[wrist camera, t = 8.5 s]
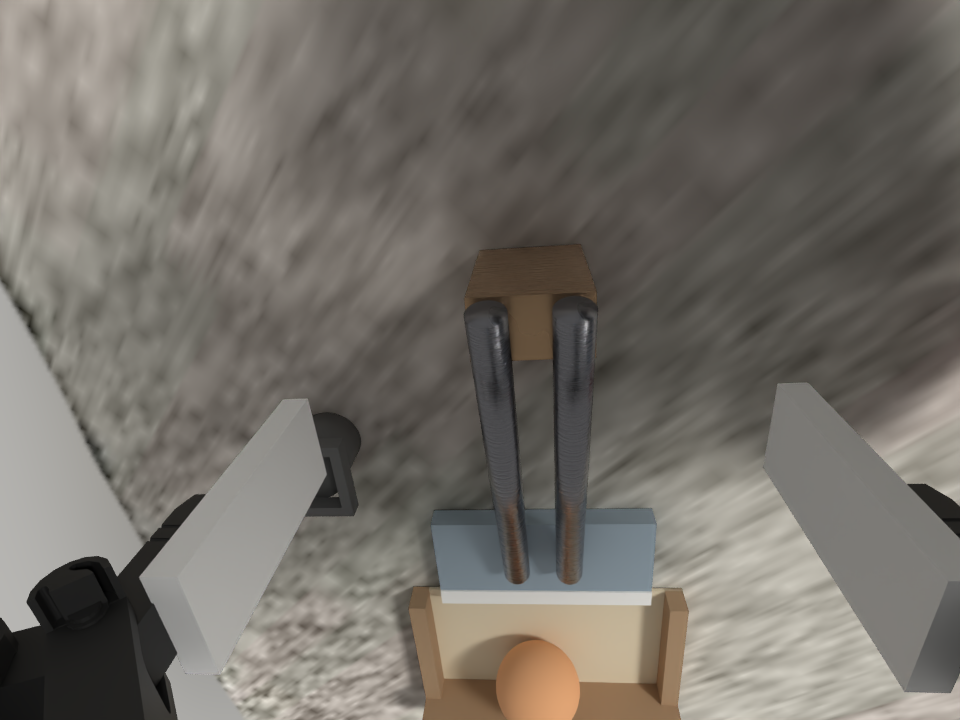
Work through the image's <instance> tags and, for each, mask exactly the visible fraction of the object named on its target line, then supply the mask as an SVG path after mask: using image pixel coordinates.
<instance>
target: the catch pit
mask: <svg viewBox="0 0 960 720" xmlns="http://www.w3.org/2000/svg"><path fill="white" fill-rule="evenodd" d="M409 614H410V619H411V624H412V629H413V634H414V639H415V644H416V649H417V654H418V660H419V665H420V670H421V675H422V680H423V685H424V690H425V695H426V702H425V708H424V714H423V720H507V719H506V717H505V716H504V714H503V712H502V711H501V708H500V706H499V703H498V699H497V694H496V678H497V673H498V670H499V667H500V664H501V662H502V660H503V659H504V657H505V656H506V654H507V653H508V652H509V651H510V650H511V649H512V648H514V647H515V646H517V645H518V644H520V643H522V642H526V641H530V640H542V641H546V642H549V643H552V644H554V645H555V646H557V647H559V648H560V649H561V650H562V651H563V652H564V653H565V654H566V655H567V656H568V657H569V659H570V660H571V661H572V663H573V665H574V667H575V669H576V672H577V675H578V678H579V684H580V699H579V704H578V708H577V711H576V713H575V715H574V717H573V718H572V720H681V718H680V714H679V709H678V698H679V690H680V682H681V673H682V665H683V656H684V648H685V639H686V631H687V622H688V614H689V611H688V607H687V604H686V601H685V598H684V595H683V591H682V588H652V599H651V605H554V604H452V603H442V597H441V588H440V587H413V592H412V596H411V600H410V604H409Z"/></svg>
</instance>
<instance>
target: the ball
mask: <svg viewBox="0 0 960 720" xmlns="http://www.w3.org/2000/svg"><path fill="white" fill-rule="evenodd" d="M496 694H497V699H498V703H499V706H500V708H501V711H502V712H503V714H504V716H505V717H506V719H507V720H572V718H573V717H574V715H575V713H576V711H577V708H578V704H579V699H580V684H579V678H578V675H577V672H576V669H575V667H574V665H573V663H572V661H571V660H570V659H569V657H568V656H567V655H566V654H565V653H564V652H563V651H562V650H561V649H560V648H559V647H557V646H555V645H554V644H552V643H549V642H546V641H542V640H530V641H526V642H522V643H520V644H518V645H517V646H515V647H514V648H512V649H511V650H510V651H509V652H508V653H507V654H506V656H505V657H504V659H503V660H502V662H501V664H500V667H499V670H498V673H497V678H496Z"/></svg>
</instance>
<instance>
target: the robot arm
mask: <svg viewBox="0 0 960 720" xmlns="http://www.w3.org/2000/svg"><path fill="white" fill-rule="evenodd" d="M763 468H764V469H765V471H766V473H767V474H768V476H769V477H770V479H771V481H772V482H773V484H774V485H775V487H776V489H777V490H778V492H779V493H780V495H781V496H782V498H783V500H784V501H785V503H786V504H787V506H788V508H789V509H790V511H791V512H792V514H793V515H794V517H795V519H796V520H797V522H798V523H799V525H800V527H801V528H802V530H803V531H804V533H805V535H806V536H807V538H808V539H809V541H810V542H811V544H812V546H813V547H814V549H815V550H816V552H817V554H818V555H819V557H820V558H821V560H822V562H823V563H824V565H825V566H826V568H827V569H828V571H829V573H830V574H831V576H832V577H833V579H834V581H835V582H836V584H837V585H838V587H839V589H840V590H841V592H842V593H843V595H844V596H845V598H846V600H847V601H848V603H849V604H850V606H851V608H852V609H853V611H854V612H855V614H856V615H857V617H858V619H859V620H860V622H861V623H862V625H863V627H864V628H865V630H866V631H867V633H868V635H869V636H870V638H871V639H872V641H873V642H874V644H875V646H876V647H877V649H878V650H879V652H880V654H881V655H882V657H883V658H884V660H885V662H886V663H887V665H888V666H889V668H890V669H891V671H892V673H893V674H894V676H895V677H896V679H897V681H898V682H899V684H900V685H901V687H902V688H903V690H904V692H927V693H951V691H952V689H953V687H954V685H955V683H956V680H957V678H958V676H959V674H960V506H959V505H957V504H956V503H955V502H954V501H953V500H952V499H950V498H949V497H947V496H945V495H944V494H942V493H940V492H938V491H937V490H935V489H933V488H932V487H930V486H928V485H926V484H906V483H905V482H904V481H903V480H902V479H901V478H900V477H899V476H898V475H897V474H896V473H895V472H894V470H893V469H892V468H891V467H890V466H889V465H888V464H887V463H886V462H885V461H884V460H883V459H882V458H881V457H880V456H879V455H878V454H877V453H876V452H875V451H874V450H873V449H872V448H871V447H870V446H869V445H868V444H867V443H866V442H865V441H864V440H863V439H862V438H861V437H860V436H859V434H858V433H857V432H856V431H855V430H854V429H853V428H852V427H851V426H850V425H849V424H848V423H847V422H846V421H845V420H844V419H843V418H842V417H841V416H840V415H839V414H838V413H837V412H836V411H835V410H834V409H833V408H832V407H831V406H830V405H829V404H828V403H827V402H826V401H825V400H824V399H823V397H822V396H821V395H820V394H819V393H818V392H817V391H816V390H815V389H814V388H813V387H812V386H811V385H810V384H809V383H808V382H805V383H778V384H777V390H776V396H775V401H774V407H773V413H772V419H771V424H770V430H769V436H768V442H767V448H766V453H765V459H764V465H763ZM326 475H327V473H326V469H325V465H324V461H323V457H322V453H321V449H320V445H319V441H318V437H317V433H316V429H315V425H314V421H313V417H312V413H311V409H310V405H309V401H308V399H283V400H282V401H281V402H280V404H279V405H278V406H277V407H276V409H275V410H274V411H273V412H272V414H271V415H270V416H269V417H268V419H267V420H266V421H265V422H264V423H263V425H262V426H261V427H260V428H259V430H258V431H257V432H256V433H255V435H254V436H253V437H252V438H251V440H250V441H249V442H248V443H247V444H246V446H245V447H244V448H243V449H242V451H241V452H240V453H239V454H238V456H237V457H236V458H235V459H234V461H233V462H232V463H231V464H230V465H229V467H228V468H227V469H226V470H225V472H224V473H223V474H222V475H221V477H220V478H219V479H218V480H217V482H216V483H215V484H214V485H213V487H212V488H211V489H210V490H209V491H208V493H207V494H202V495H194V496H192V497H191V498H190V499H188V500H187V501H186V502H184V503H183V504H181V505H180V506H179V507H177V508H176V509H175V510H174V511H173V512H172V513H171V514H170V516H169V517H168V518H167V519H166V520H165V521H164V523H163V524H162V527H161V528H158V530H157V531H156V532H155V533H154V534H153V535H152V537H151V538H150V541H147V542H146V544H145V545H144V546H143V547H142V548H141V550H140V551H139V552H138V553H137V554H136V555H135V557H134V558H133V559H132V560H131V561H130V562H129V564H128V565H127V566H126V567H125V568H124V570H123V571H122V572H121V573H120V574H119V576H116V574H115V572H114V570H113V568H112V566H111V564H110V563H109V561H108V559H106V558H103V557H99V556H94V557H84V558H81V559H78V560H75V561H72V562H69V563H67V564H65V565H63V566H61V567H59V568H57V569H55V570H54V571H52V572H51V573H50V574H48V575H47V576H46V577H44V578H43V579H42V580H40V581H39V583H38V584H37V585H36V586H35V587H34V588H33V589H32V591H31V592H30V594H29V597H28V599H27V604H28V606H29V607H30V609H31V610H32V612H33V613H34V615H35V617H36V618H37V620H38V622H39V623H40V626H36V627H32V628H28V629H25V630H21V631H16V632H13V633H12V632H11V631H10V630H9V628H8V626H7V625H6V624H5V622H4V621H3V620H2V618H0V720H178V719H177V714H176V709H175V704H174V699H173V694H172V689H171V684H170V681H169V679H168V677H167V675H166V673H165V672H166V671H167V669H168V667H169V665H170V664H171V663H172V661H173V659H174V658H175V656H176V655H177V657H178V659H179V662H180V663H181V666H182V668H183V670H184V672H185V674H213V675H220V674H221V672H222V670H223V668H224V666H225V664H226V663H227V661H228V659H229V657H230V655H231V653H232V651H233V649H234V648H235V646H236V644H237V642H238V640H239V638H240V636H241V634H242V633H243V631H244V629H245V627H246V625H247V623H248V621H249V619H250V618H251V616H252V614H253V612H254V610H255V608H256V606H257V604H258V603H259V601H260V599H261V597H262V595H263V593H264V591H265V589H266V588H267V586H268V584H269V582H270V580H271V578H272V576H273V574H274V573H275V571H276V569H277V567H278V565H279V563H280V561H281V559H282V558H283V556H284V554H285V552H286V550H287V548H288V546H289V544H290V543H291V541H292V539H293V537H294V535H295V533H296V531H297V529H298V528H299V526H300V524H301V522H302V520H303V518H304V516H305V514H306V513H307V511H308V509H309V507H310V505H311V503H312V501H313V499H314V498H315V496H316V494H317V492H318V490H319V488H320V486H321V484H322V483H323V481H324V479H325V477H326Z"/></svg>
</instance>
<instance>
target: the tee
mask: <svg viewBox="0 0 960 720" xmlns="http://www.w3.org/2000/svg"><path fill="white" fill-rule="evenodd" d="M312 417H313V421H314V425H315V429H316V433H317V437H318V441H319V445H320V449H321V453H322V457H323V461H324V465H325V469H326V473H327V475H326V477H325V479H324V481H323V483H322V484H321V486H320V488H319V490H318V492H317V494H316V496H315V498H314V499H313V501H312V503H311V505H310V507H309V509H308V511H307V513H306V514H305V516H354V515H355V512H356V510H357V507H358V501H357V496H356V492H355V487H354V483H353V478H352V474H351V470H350V468H351V466H352V464H353V462H354V460H355V458H356V456H357V454H358V451H359V449H360V445H361V439H360V435H359V432H358V430H357V429H356V427H355V426H354V425H353V424H352V423H351V422H350V421H349V420H347V419H346V418H344V417H342V416H340V415H337V414H333V413H320V414H316V415H314V416H312ZM337 492H338V494H339V497H331V496H333V495H334V494H336V493H337Z"/></svg>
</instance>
